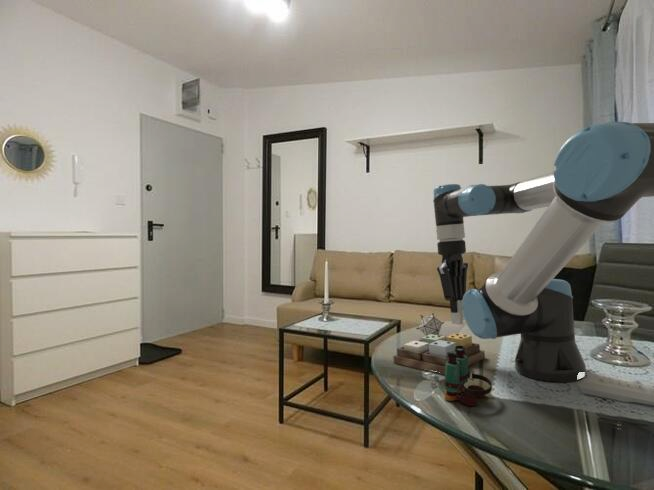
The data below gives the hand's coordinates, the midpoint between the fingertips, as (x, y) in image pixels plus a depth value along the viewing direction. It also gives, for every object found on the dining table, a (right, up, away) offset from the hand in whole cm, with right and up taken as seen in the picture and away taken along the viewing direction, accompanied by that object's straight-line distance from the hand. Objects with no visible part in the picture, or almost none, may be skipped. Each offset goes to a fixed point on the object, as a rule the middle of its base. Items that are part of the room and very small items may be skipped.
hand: (457, 323), depth 108 cm
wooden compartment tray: (-5, -11, +1) cm, 12 cm away
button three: (-5, -8, +7) cm, 12 cm away
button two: (-6, -7, -5) cm, 11 cm away
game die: (0, -10, +26) cm, 28 cm away
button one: (-11, -9, +1) cm, 14 cm away
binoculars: (-6, -11, -25) cm, 28 cm away
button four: (+1, -7, 0) cm, 7 cm away
